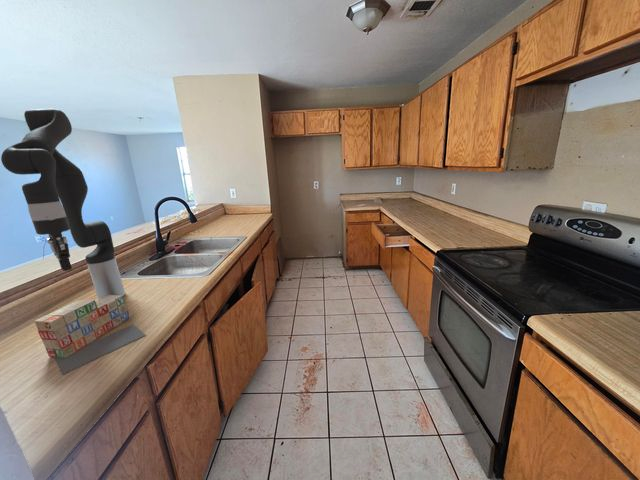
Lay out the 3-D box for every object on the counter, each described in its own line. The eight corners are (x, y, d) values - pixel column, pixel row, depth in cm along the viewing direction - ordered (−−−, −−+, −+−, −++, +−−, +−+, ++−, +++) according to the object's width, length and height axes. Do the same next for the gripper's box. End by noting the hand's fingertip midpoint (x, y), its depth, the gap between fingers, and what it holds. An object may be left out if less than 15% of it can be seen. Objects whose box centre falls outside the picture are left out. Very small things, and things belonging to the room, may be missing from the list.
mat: (54, 358, 76) (54, 358, 76) (133, 324, 91) (133, 324, 91) (63, 375, 69) (62, 374, 69) (146, 335, 84) (145, 334, 84)
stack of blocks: (116, 317, 96) (107, 287, 93) (130, 318, 95) (121, 287, 92) (48, 357, 76) (33, 320, 73) (64, 358, 75) (50, 321, 72)
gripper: (28, 217, 81) (47, 269, 86) (35, 221, 73) (55, 277, 78) (61, 213, 87) (77, 262, 91) (70, 216, 79) (87, 269, 83)
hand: (67, 269), depth 85 cm, fingers closed
